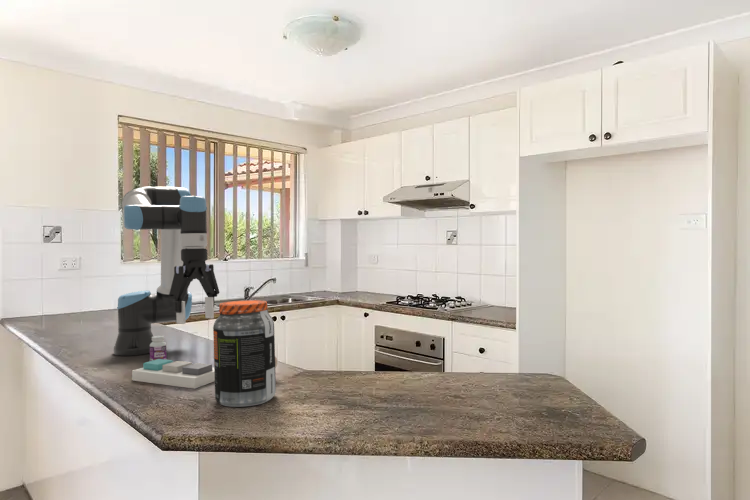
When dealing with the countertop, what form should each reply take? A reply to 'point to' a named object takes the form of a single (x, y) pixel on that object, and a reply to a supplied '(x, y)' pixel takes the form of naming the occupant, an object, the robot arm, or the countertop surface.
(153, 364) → the teal key
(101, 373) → the countertop surface
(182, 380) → the keypad
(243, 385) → the supplement tub
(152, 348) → the pill bottle
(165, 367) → the grey key
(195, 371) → the charcoal key
